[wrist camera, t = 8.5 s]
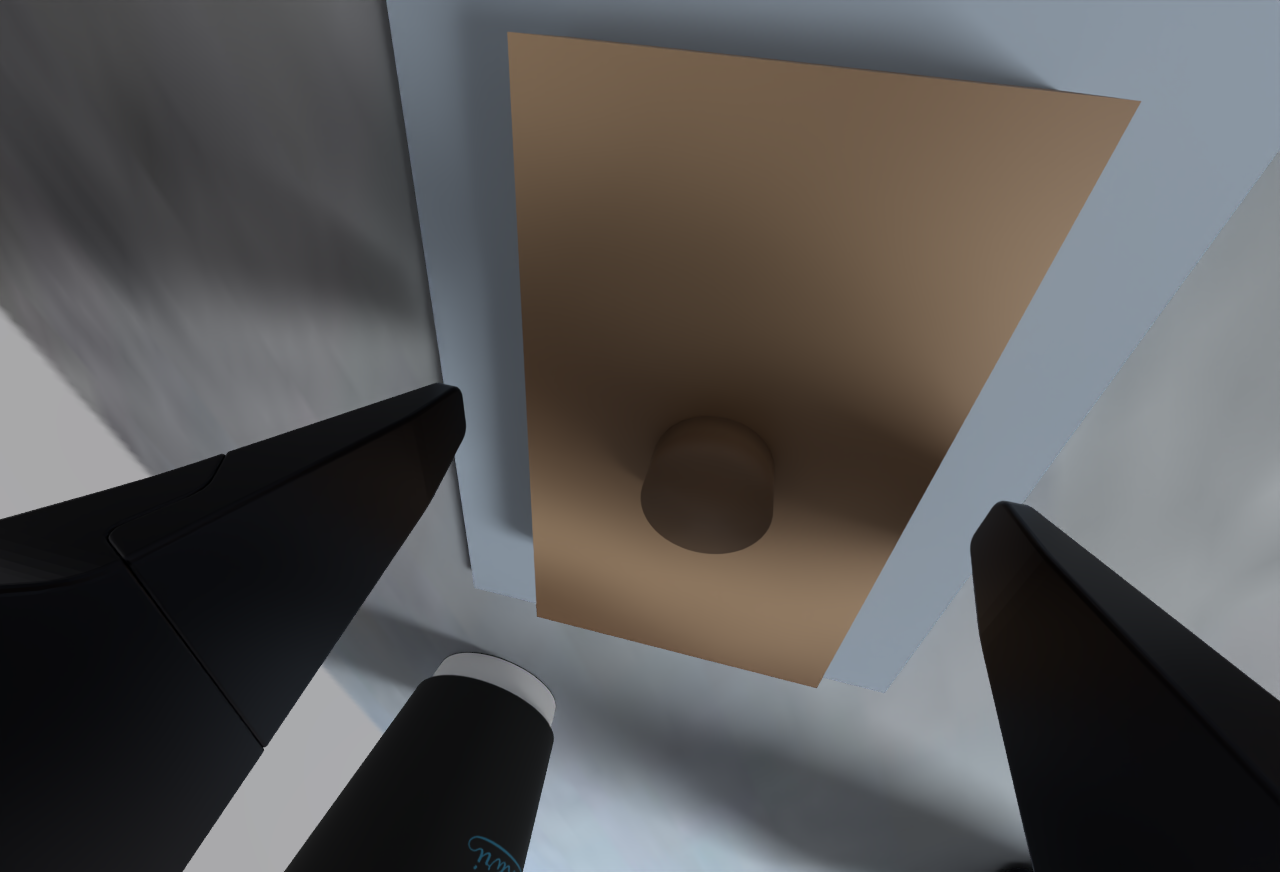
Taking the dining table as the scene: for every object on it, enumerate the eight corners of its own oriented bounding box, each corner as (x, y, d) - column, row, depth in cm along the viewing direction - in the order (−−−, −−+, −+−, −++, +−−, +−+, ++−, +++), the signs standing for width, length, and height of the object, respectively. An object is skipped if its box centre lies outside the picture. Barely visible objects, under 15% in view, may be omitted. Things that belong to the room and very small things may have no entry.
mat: (881, 676, 15) (884, 693, 14) (481, 574, 16) (474, 587, 16) (1465, -164, 5) (1519, -181, 5) (374, -226, 7) (349, -244, 6)
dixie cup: (370, 663, 22) (90, 1072, 13) (464, 597, 17) (136, 1146, 9) (521, 757, 24) (367, 1164, 15) (638, 719, 19) (517, 1260, 11)
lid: (813, 612, 13) (818, 734, 11) (565, 553, 14) (519, 654, 12) (1057, 89, 7) (1205, 109, 4) (566, 36, 8) (463, 28, 5)
